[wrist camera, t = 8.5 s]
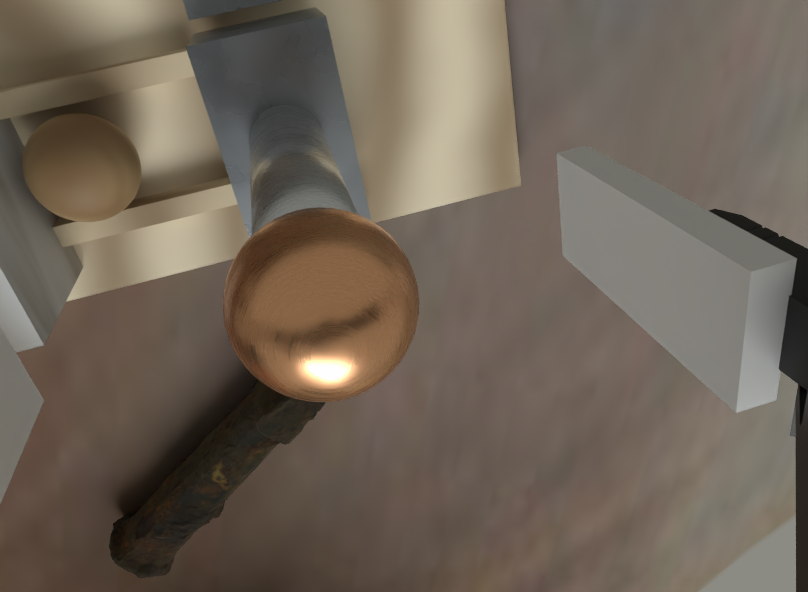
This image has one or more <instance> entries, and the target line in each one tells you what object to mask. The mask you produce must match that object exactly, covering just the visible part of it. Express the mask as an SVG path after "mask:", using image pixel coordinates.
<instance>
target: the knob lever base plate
mask: <svg viewBox="0 0 808 592" xmlns="http://www.w3.org/2000/svg"><path fill="white" fill-rule="evenodd" d="M313 7H316V8H317V9H318V10H320V11H321V12H322V13H323V14H324V15H326V18H327V22H328V27H329V31H330V36H331V40H332V45H333V49H334V54H335V58H336V63H337V67H338V72H339V76H340V81H341V85H342V90H343V94H344V99H345V104H346V108H347V113H348V117H349V122H350V126H351V131H352V135H353V140H354V144H355V149H356V153H357V158H358V162H359V167H360V171H361V176H362V180H363V185H364V189H365V194H366V198H367V203H368V207H369V212H370V216H371V221H372V222H374V223H376V222H380V221H383V220H387V219H391V218H395V217H399V216H403V215H407V214H411V213H415V212H419V211H423V210H426V209H430V208H434V207H438V206H442V205H446V204H450V203H454V202H458V201H462V200H466V199H469V198H473V197H477V196H481V195H485V194H489V193H493V192H497V191H501V190H505V189H509V188H513V187H516V186H520V185H521V180H520V169H519V157H518V146H517V135H516V124H515V113H514V102H513V91H512V80H511V69H510V58H509V47H508V35H507V24H506V13H505V2H504V0H281V1H276V2H272V3H267V4H262V5H258V6H253V7H248V8H244V9H239V10H235V11H230V12H225V13H221V14H216V15H212V16H207V17H202V18H198V19H193V20H189V19H188V16H187V13H186V9H185V6H184V3H183V0H0V327H1V329H2V331H3V332H4V334H5V336H6V337H7V339H8V341H9V342H10V344H11V346H12V347H13V349H14V351H15V352H20V351H24V350H27V349H31V348H35V347H39V346H43V345H44V344H45V342H46V340H47V338H48V336H49V334H50V332H51V330H52V328H53V326H54V324H55V322H56V320H57V318H58V316H59V315H60V313H61V311H62V309H63V307H64V305H65V303H66V302H67V301H70V300H74V299H78V298H82V297H86V296H90V295H94V294H98V293H102V292H106V291H110V290H113V289H117V288H121V287H125V286H129V285H133V284H137V283H141V282H145V281H149V280H153V279H157V278H160V277H164V276H168V275H172V274H176V273H180V272H184V271H188V270H192V269H196V268H200V267H203V266H207V265H211V264H215V263H219V262H223V261H227V260H231V259H235V257H236V255H237V254H238V252H239V251H240V249H241V248H242V247H243V245H244V244H245V243H246V241H247V240H248V239H249V236H248V233H247V230H246V227H245V224H244V221H243V218H242V215H241V212H240V209H239V206H238V203H237V200H236V197H235V194H234V191H233V188H232V185H231V182H230V179H229V176H228V173H227V170H226V167H225V164H224V161H223V158H222V155H221V152H220V149H219V146H218V143H217V140H216V137H215V134H214V131H213V128H212V125H211V122H210V119H209V116H208V113H207V110H206V107H205V104H204V101H203V98H202V95H201V92H200V89H199V86H198V83H197V80H196V77H195V74H194V71H193V68H192V65H191V62H190V59H189V56H188V53H187V50H186V45H187V44H188V42H189V40H190V38H191V37H192V35H193V34H194V33H199V32H203V31H208V30H212V29H217V28H222V27H226V26H231V25H235V24H240V23H244V22H249V21H254V20H258V19H263V18H267V17H272V16H276V15H281V14H285V13H290V12H295V11H299V10H304V9H308V8H313ZM71 113H83V114H90V115H94V116H97V117H100V118H103V119H105V120H107V121H109V122H111V123H112V124H114V125H115V126H117V127H118V128H119V129H121V130H122V131H123V132H124V133H125V134H126V135H127V137H128V138H129V139H130V140H131V142H132V143H133V145H134V146H135V148H136V150H137V152H138V155H139V158H140V163H141V173H142V175H141V182H140V186H139V189H138V192H137V194H136V196H135V197H134V199H133V200H132V202H131V203H130V204H129V205H128V206H127V207H126V208H125V209H124V210H123V211H121V212H120V213H118V214H117V215H115V216H113V217H111V218H108V219H105V220H101V221H96V222H78V221H72V220H69V219H65V218H63V217H60V216H58V215H56V214H54V213H52V212H51V211H49V210H48V209H46V208H45V207H44V206H43V205H41V204H40V203H39V202H38V200H37V199H36V198H35V197H34V196H33V194H32V193H31V191H30V190H29V188H28V186H27V184H26V181H25V179H24V175H23V169H22V156H23V151H24V148H25V145H26V143H27V141H28V139H29V137H30V136H31V135H32V133H33V132H34V131H35V130H36V129H37V128H38V127H39V126H40V125H41V124H43V123H44V122H46V121H48V120H50V119H52V118H54V117H56V116H60V115H64V114H71Z"/></svg>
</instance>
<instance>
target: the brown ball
mask: <svg viewBox="0 0 808 592" xmlns="http://www.w3.org/2000/svg"><path fill="white" fill-rule="evenodd" d="M22 169H23V175H24V179H25V181H26V184H27V186H28V188H29V190H30V191H31V193H32V194H33V196H34V197H35V198H36V199H37V200H38V202H39V203H40V204H41V205H43V206H44V207H45V208H46V209H48V210H49V211H51V212H52V213H54V214H56V215H58V216H60V217H63V218H65V219H69V220H72V221H78V222H96V221H101V220H105V219H108V218H111V217H113V216H115V215H117V214H118V213H120V212H121V211H123V210H124V209H125V208H126V207H127V206H128V205H129V204H130V203H131V202H132V200H133V199H134V197H135V196H136V194H137V192H138V189H139V186H140V182H141V175H142V173H141V163H140V158H139V155H138V152H137V150H136V148H135V146H134V145H133V143H132V142H131V140H130V139H129V138H128V137H127V135H126V134H125V133H124V132H123V131H122V130H121V129H119V128H118V127H117V126H115V125H114V124H112V123H111V122H109V121H107V120H105V119H103V118H100V117H97V116H94V115H90V114H83V113H71V114H64V115H60V116H56V117H54V118H52V119H50V120H48V121H46V122H44V123H43V124H41V125H40V126H39V127H38V128H37V129H36V130H35V131H34V132H33V133H32V135H31V136H30V137H29V139H28V141H27V143H26V145H25V148H24V151H23V156H22Z"/></svg>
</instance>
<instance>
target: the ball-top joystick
mask: <svg viewBox="0 0 808 592" xmlns="http://www.w3.org/2000/svg"><path fill="white" fill-rule="evenodd" d="M276 1H281V0H183V3H184V6H185V9H186V13H187V16H188V19H189V20H193V19H198V18H202V17H207V16H212V15H216V14H221V13H225V12H230V11H235V10H239V9H244V8H248V7H253V6H258V5H262V4H267V3H272V2H276ZM186 50H187V53H188V56H189V59H190V62H191V65H192V68H193V71H194V74H195V77H196V80H197V83H198V86H199V89H200V92H201V95H202V98H203V101H204V104H205V107H206V110H207V113H208V116H209V119H210V122H211V125H212V128H213V131H214V134H215V137H216V140H217V143H218V146H219V149H220V152H221V155H222V158H223V161H224V164H225V167H226V170H227V173H228V176H229V179H230V182H231V185H232V188H233V191H234V194H235V197H236V200H237V203H238V206H239V209H240V212H241V215H242V218H243V221H244V224H245V227H246V230H247V233H248V236H249V239H248V240H247V241H246V243H245V244H244V245H243V247H242V248H241V249H240V251H239V252H238V254H237V255H236V257H235V259H234V261H233V263H232V265H231V267H230V270H229V273H228V276H227V279H226V283H225V288H224V294H223V315H224V322H225V327H226V331H227V334H228V337H229V340H230V342H231V345H232V347H233V349H234V351H235V353H236V354H237V356H238V357H239V359H240V360H241V362H242V363H243V364H244V366H245V367H246V368H247V369H248V370H249V371H250V373H251V374H252V375H253V376H255V377H256V378H257V379H258V380H259V381H261V382H262V383H263V384H265V385H266V386H268V387H269V388H271V389H273V390H274V391H276V392H278V393H281V394H283V395H285V396H288V397H292V398H295V399H299V400H304V401H310V402H332V401H339V400H343V399H348V398H351V397H354V396H357V395H359V394H361V393H363V392H366V391H367V390H369V389H371V388H373V387H374V386H376V385H377V384H378V383H380V382H381V381H382V380H384V379H385V378H386V377H387V376H388V375H389V374H390V373H391V372H392V371H393V370H394V369H395V368H396V367H397V366H398V364H399V363H400V362H401V360H402V359H403V357H404V356H405V354H406V352H407V350H408V348H409V346H410V344H411V342H412V340H413V337H414V334H415V331H416V327H417V321H418V316H419V295H418V286H417V282H416V278H415V275H414V272H413V269H412V267H411V265H410V263H409V260H408V258H407V257H406V255H405V254H404V252H403V250H402V249H401V248H400V246H399V245H398V244H397V242H396V241H395V240H394V239H393V238H392V237H391V236H390V235H389V234H388V233H387V232H386V231H385V230H383V229H382V228H381V227H380V226H378V225H377V224H375V223H374V222H372V221H371V216H370V212H369V207H368V203H367V198H366V194H365V189H364V185H363V180H362V176H361V171H360V167H359V162H358V158H357V153H356V149H355V144H354V140H353V135H352V131H351V126H350V122H349V117H348V113H347V108H346V104H345V99H344V94H343V90H342V85H341V81H340V76H339V72H338V67H337V63H336V58H335V54H334V49H333V45H332V40H331V36H330V31H329V27H328V22H327V18H326V15H324V14H323V13H322V12H321V11H320V10H318V9H317V8H316V7H313V8H308V9H304V10H299V11H295V12H290V13H285V14H281V15H276V16H272V17H267V18H263V19H258V20H254V21H249V22H244V23H240V24H235V25H231V26H226V27H222V28H217V29H212V30H208V31H203V32H199V33H194V34H193V35H192V37H191V38H190V40H189V42H188V44H187V45H186Z"/></svg>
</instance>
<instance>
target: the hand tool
mask: <svg viewBox="0 0 808 592" xmlns="http://www.w3.org/2000/svg"><path fill="white" fill-rule="evenodd" d="M324 404H325V402H310V401H304V400H299V399H295V398H292V397H288V396H285V395H283V394H281V393H278V392H276V391H274V390H273V389H271V388H269V387H268V386H266V385H265V384H263V383H262V382H261V381H259V380H258V379H257V382H256V385H255V387H254V388H253V390H252V391H251V393H250V394H249V395H248V396H247V397H246V398H245V399H244V400H243V401H242V402H241V403H240V404H239V405H238V406H237V407H236V408H235V409H234V410H233V411H232V412H231V413H230V414H229V415H228V416H227V417H226V418H225V419H224V420H223V421H222V422H221V423H220V425H219V426H218V427H216V428H215V429H214V430H212V431H211V432H210V433H209V434H208V435H207V436H206V437H205V438H204V440H203V441H202V443H201V444H200V445H199V446H198V448H197V449H196V450H195V451H194V452H193V453H192V454H191V455H190V456H189V457H188V458H187V459H186V460H185V461H184V462H183V463H182V464H181V465H180V466H179V467H178V468H176V470H175V471H174V472H173V473H172V474H171V475H170V476H169V477H167V478H166V479H165V480H164V481H163V482H162V484H161V486H160V487H159V488H158V489H157V490H156V491H155V492H154V494H153V495H152V496H151V497H150V499H149V500H148V501H147V502H146V503H145V504H144V505H143V506H142V508H141V509H140V510H139V511H138V512H137V513H136V514H134V515H133V516H130V515H126V516H124V517H122V518H121V519H119V520H117V521H116V522H115V523H113V527H114V529H113V531H112V533H111V538H110V545H109V548H110V551H111V557H112V558H113V560H114V561H115V563H116V564H117V565H118V566H120V567H122V568H123V569H125V570H127V571H128V572H132V573H133V574H135V575H137V577H138V578H145V577H153V576H161V575H166V574H167V573H168V572H169V571H170V568H171V565H172V562H173V559H174V556H175V554H176V552H177V551H178V550H179V549H180V548H181V547H182V546H183V545H184V544H185V543H186V541H187V540H188V539H189V538H190V537H191V536H192V535H193V533H194V532H195V531H196V530H197V529H198V528H200V527H201V526H203V525H205V524H207V523H209V521H210V520H211V519H212V518H216V517H219V515H220V514H221V512H222V510H223V507H224V503H225V500H227V498H228V497H229V496H230V495H231V494H232V493H233V491H234V490H235V489H236V488H237V487H238V486H239V485H240V484H241V483H242V482H243V481H244V480H245V479H246V478H247V477H248V476H249V475H250V473H251V472H252V471H253V470H254V469H255V468H256V467H257V466H258V465H259V464H260V463H261V462H262V461H263V460H264V458H265V457H266V456H267V455H268V454H269V453H270V451H271V450H272V449H273V448H274V447H275V446H276V445H277V444H279V443H283V444H289V443H290V442H291V441H292V440H293V439H294V438H295V437H296V436H297V435H298V434H299V433H300V432H301V431H302V429H303V428H304V426H305V424H306V423H307V422H308V421H309V420H312V419H314V417H315V415H316V413H317V411H320V409H321V408H322V407H323V405H324Z"/></svg>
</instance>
